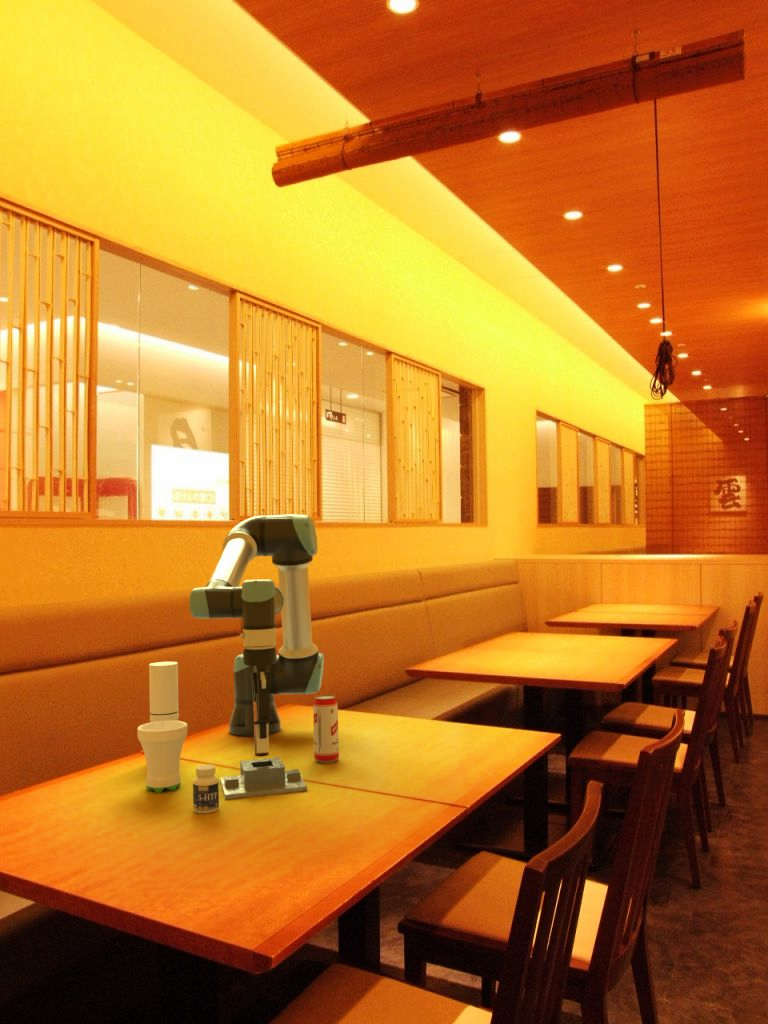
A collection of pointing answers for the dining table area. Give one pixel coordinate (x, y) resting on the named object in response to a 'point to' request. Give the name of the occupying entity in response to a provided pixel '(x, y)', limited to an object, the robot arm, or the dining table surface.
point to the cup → (162, 753)
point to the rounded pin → (255, 734)
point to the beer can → (326, 729)
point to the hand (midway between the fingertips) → (261, 750)
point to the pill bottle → (205, 790)
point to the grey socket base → (262, 779)
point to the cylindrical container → (163, 691)
